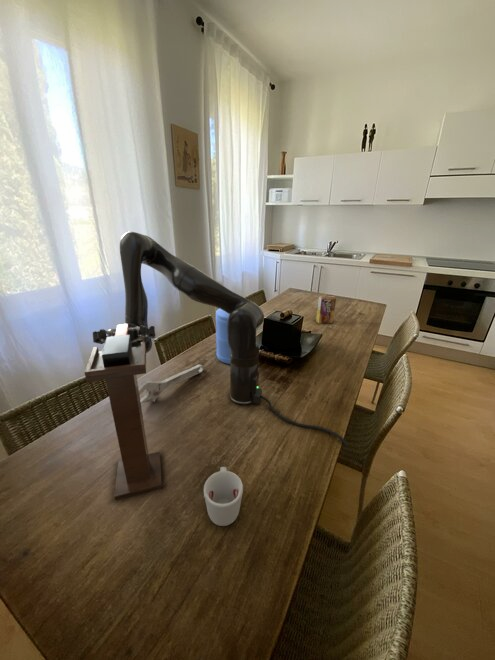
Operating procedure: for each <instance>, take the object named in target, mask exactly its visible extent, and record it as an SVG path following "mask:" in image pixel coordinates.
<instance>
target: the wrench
mask: <svg viewBox="0 0 495 660" xmlns="http://www.w3.org/2000/svg"><path fill="white" fill-rule="evenodd" d="M204 368H205V367H204V365H203V364H197V365H193V366H192V367H189V368H188V369H185V370H183V371H181V372H178V373H176V374H174V375H172V376H170V377H167V378H165V379H162V380H158V381H153V380H152V381H150V380H146V381H143V382H141V383H140V384H138V389H139V396H140V395H141V394H142V393H143V392H145V391H146V394H144V396H142V397H140V402H141V404H145V403H149V402H155V403H156V400H157V398H158V397H159V396H160V395H161V394H162V392H164V391H165V390H166V389H169V388H171V387H173V386H175V385H177V384H179V383H181V382H184V381H185V380H187V379H190V378H192V377H194V376H197V375H198V374H201V373H203V371H204Z"/></svg>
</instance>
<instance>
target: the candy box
mask: <svg viewBox="0 0 495 660" xmlns="http://www.w3.org/2000/svg"><path fill="white" fill-rule="evenodd" d="M336 302H337V297H336V296H334V295H325V296H324V295H322V296H321V295H320V296H318V302H317V310H316V318H315V322H316V323H317V324H333V323H334V316H335V310H336V309H335V307H336Z"/></svg>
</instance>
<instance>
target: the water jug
mask: <svg viewBox="0 0 495 660" xmlns="http://www.w3.org/2000/svg"><path fill="white" fill-rule="evenodd" d="M237 294H238V295H240V294H239V293H237ZM228 317H229V314H228V313H227V312H225V311H223V310H222V309H220V308H217V309H216V311H215V341H216V352H215V353H216V355H215V356H216V358H217V359H218V360H219V361H220V362H222V363H223V364H227V365H230V347H229V345H228V330H227V322H228Z"/></svg>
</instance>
